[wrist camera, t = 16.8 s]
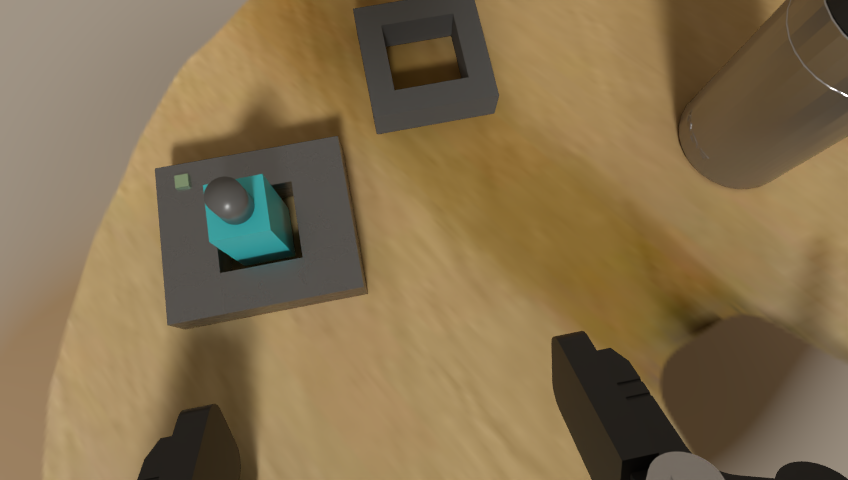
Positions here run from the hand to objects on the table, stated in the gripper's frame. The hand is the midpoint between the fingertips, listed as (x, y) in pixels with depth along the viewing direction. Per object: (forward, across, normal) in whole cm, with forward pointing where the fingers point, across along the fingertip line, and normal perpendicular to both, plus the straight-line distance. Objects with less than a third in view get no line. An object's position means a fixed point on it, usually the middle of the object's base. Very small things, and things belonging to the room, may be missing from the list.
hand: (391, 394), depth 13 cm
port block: (+30, +9, +11) cm, 33 cm away
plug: (+30, +9, +11) cm, 33 cm away
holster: (+38, -6, +2) cm, 39 cm away
